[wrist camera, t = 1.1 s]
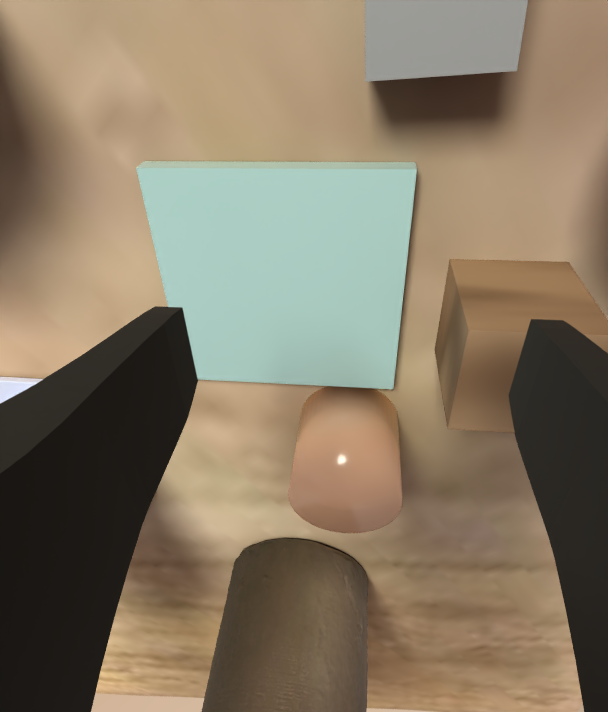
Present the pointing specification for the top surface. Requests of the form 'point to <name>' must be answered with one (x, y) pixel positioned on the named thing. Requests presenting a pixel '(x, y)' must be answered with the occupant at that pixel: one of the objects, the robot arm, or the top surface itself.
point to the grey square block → (441, 37)
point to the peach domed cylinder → (347, 461)
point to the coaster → (285, 265)
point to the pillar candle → (292, 632)
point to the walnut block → (501, 331)
